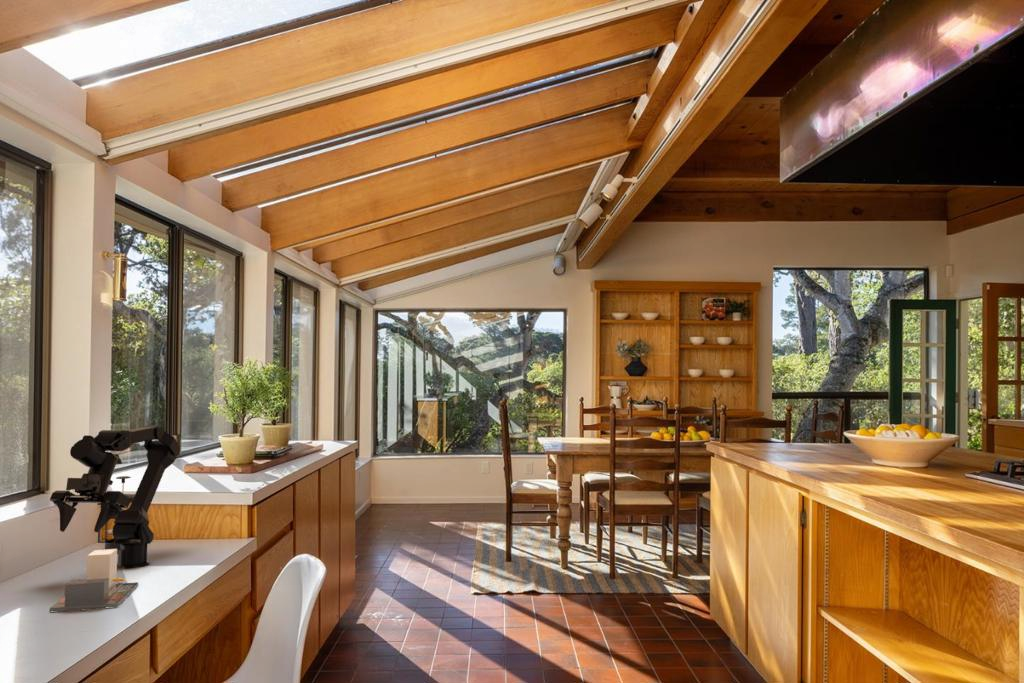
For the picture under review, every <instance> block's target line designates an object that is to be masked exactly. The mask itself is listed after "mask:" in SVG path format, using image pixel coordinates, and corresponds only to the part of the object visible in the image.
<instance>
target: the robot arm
mask: <svg viewBox="0 0 1024 683" xmlns="http://www.w3.org/2000/svg"><path fill="white" fill-rule="evenodd" d="M143 442H144V443H143ZM138 443H143V448H144V449H145V450H146V460H147V463H148V464H147V466H146V468H145V471H144V473H143V476H142V478H141V481H140V482H139V485H138V487H137V489H136V492H135V493H134V494H135V496H134V498H133V500H132V503H130V499H129V497H128V496H126V495H125V494H126V493H124V494H123V493H122V491H119V490H118V491H117V490H113V491H112V490H111V491H110V490H108V487H109V486H112V485H113V483H114V480H112V476H113V474H114V471H115V468H116V466H117V465H122V463H123V461H122V459H121V458H120V455H119V454H118V453H117V454H116V453H113V452H124V451H125V450H127V449H130V448H131V446H132V445H134V444H138ZM180 452H181V447H180V444H179V442H178V440H177V439H176V438H175V436H173V435H171V434H169V433H168V432H167V431H166V430H165V429H164V427H162V426H160V425H146V426H144V427H139V428H133V429H132V428H131V429H127V430H126V429H125V430H124V429H118V430H117V429H107V430H106V429H102V430H100V431H99V432H98V434H97V435H95V436H92V435H83V437H82V439H79V440H78V441H77V442H75V443H74V444H73V445H72V446H71V448H70V452H69V454H70V456H71V458H72V459H74V460H76V461H77V462H78V463H80V464H82V465H84V466H85V467H86V468H88V471H87V473H85V472H84V473H83V474H81V477H67V480H66V487H65V490H55V491H53V492H52V493H51V496H50V497H49V501H50V502H52V503H53V505H55V506H57V508H58V512H59V531H60V532H62V533H65V531H66V529H67V528H68V526H69V524H70V523H71V521H72V519H73V517H74V515H75V513H76V511H77V508H76V507H77V506H78V504H83V503H84V504H86V503H88V504H89V503H90V504H100V512H99V515H98V517H97V519H96V523H95V526H94V529H93V532H94V533H98V532H99V530H100V529H101V530H102V529H103V527H104V526H105V524H106V523H107V522H108V523H109V521H110V520H112V519H111V518H112V517H113V516H115V515H116V514H117V513H118V512H119V513H118V516H117V518H116V520H115V519H114V521H113V526H112V532H113V535H112V536H113V539H114V541H115V545H118V544H120V550H118V554H117V566H118V567H121V568H123V569H131V568H137V567H141V566H147V565H150V562H149V561H148V545H149V544H151V543H152V542H153V540H154V535H155V534H154V532H153V531H152V530H151V528H150V527H149V525H150V519H149V515H148V513H149V512H148V511H149V508H150V507H151V504H152V502H153V499H154V497H155V495H156V492H157V491H158V487H159V485H160V483H161V480H162V478H163V476H164V474H165V470H166V469H167V468H169V467H171V465H173V464H174V463H175V462H176V459H177V457H178V456H179V454H180ZM71 490H73V491H74V493H73V492H71ZM129 503H130V504H129ZM122 508H123V509H122Z"/></svg>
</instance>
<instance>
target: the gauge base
mask: <svg viewBox="0 0 1024 683" xmlns="http://www.w3.org/2000/svg"><path fill="white" fill-rule="evenodd" d="M64 586H65V589H64V596H63V597H62V598H60V599H59V600H58V601H57V602H55V603H54V604H53V605H52V606H51V607H49V612H51V611H65V612H69V611H68V610H79V611H83V610H82V609H92V610H97V609H96V608H106V607H118V606H119V605H120V604H121V603H122V602H123V601H124V600H125V599H126V598H127V597H129V596H131V594H132V593H134V591H135V590H136V589H137V588H138V587H139V582H124V583H123V582H118V583H116V586H115V587H113V588H112V589H111V590H110V591H109V592H108V589H109V578H105V579H89V580H86V579H75V580H73V579H72V580H70V581H68V582H67V583H66V584H64ZM137 586H138V587H137ZM136 587H137V588H136ZM127 599H128V598H127ZM127 599H126V600H127ZM126 600H125V601H126ZM125 601H124V602H125ZM124 602H123V603H124ZM123 603H122V604H123ZM122 604H121V605H122ZM121 605H120V606H121ZM120 606H119V607H120ZM119 607H118V608H119ZM106 609H107V608H106ZM51 613H52V612H51Z"/></svg>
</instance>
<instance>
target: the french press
mask: <svg viewBox="0 0 1024 683" xmlns="http://www.w3.org/2000/svg"><path fill="white" fill-rule="evenodd" d="M131 478H132V477H131V476H129V475H128V476H127V475H125V476H124V475H123V476H117V477H115V479H116V480H121V484H122V486H121V487H122V488H121V490H122V491H121V492H122V493H123V494H125V495H126V496H128V497H129V499H130V503H129V505H131V503H132V500H133V498H134V496H135V494H136V493H124V492H125V491H124V490H125V482H126V479H131ZM122 509H123V510H124V508H122ZM118 513H119V512H118ZM118 513H117V514H116V515H115V516H113V517H112V518H111V519H110V520H114V521H115V520H116V518H117V516H118ZM104 526H105V528H104V540H102V539H101V538H102V537H101V536H102V534H101V533H102V528H101V529H100V530H99V532H97V543H98V544H103V543H104V549H117V555H118V550H120V544H118V545H115V541H114V538H109V539H108V535H110V536H113V532H112V529H113V528H112V529H108V528H109V527H108V526H109V521H108V522H107V523H106V524H105V525H104Z"/></svg>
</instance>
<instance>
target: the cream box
mask: <svg viewBox="0 0 1024 683" xmlns="http://www.w3.org/2000/svg"><path fill="white" fill-rule="evenodd" d="M117 563H118V554H117V549H105V548H103V549H95V550H93V551H91V552H90V553H89V554H87V555H86V575H85V576H86V577H85V578H86V579H85V580H89V579H105V578H109V589H108V592H109V591H110V590H111V589H112V588H113V587H115V586H116V584H117V582H124V581H125V577H121V578H120V577H119V578H117V566H118V565H117Z"/></svg>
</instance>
